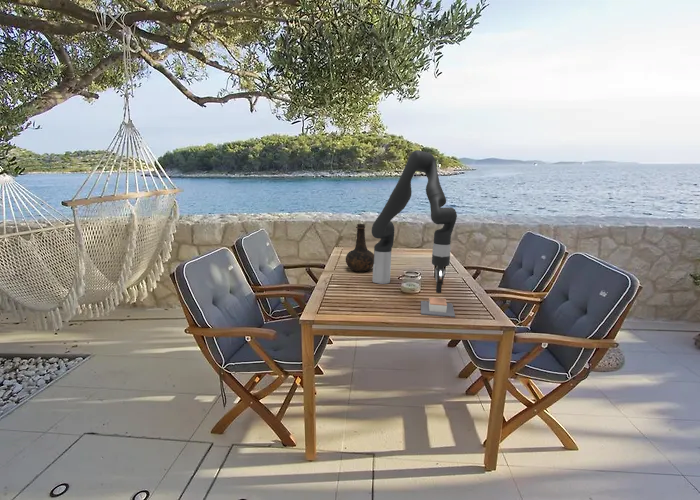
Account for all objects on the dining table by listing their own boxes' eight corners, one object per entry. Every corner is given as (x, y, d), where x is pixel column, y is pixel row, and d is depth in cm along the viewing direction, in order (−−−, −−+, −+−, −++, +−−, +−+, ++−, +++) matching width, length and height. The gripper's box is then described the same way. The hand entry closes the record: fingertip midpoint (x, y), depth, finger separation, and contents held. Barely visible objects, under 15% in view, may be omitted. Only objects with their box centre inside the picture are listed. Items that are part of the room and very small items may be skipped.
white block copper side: (428, 304, 174) (429, 311, 166) (429, 297, 173) (430, 303, 165) (444, 306, 173) (446, 312, 165) (445, 298, 172) (446, 304, 164)
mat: (420, 314, 164) (420, 313, 163) (420, 302, 179) (420, 300, 179) (455, 317, 161) (455, 315, 161) (452, 304, 177) (452, 303, 177)
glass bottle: (376, 267, 241) (378, 222, 236) (373, 274, 224) (375, 226, 219) (348, 265, 244) (349, 221, 239) (342, 272, 227) (343, 225, 221)
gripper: (431, 250, 174) (429, 287, 177) (432, 256, 161) (430, 296, 165) (449, 251, 173) (446, 288, 176) (451, 257, 160) (448, 297, 163)
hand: (438, 292), depth 170 cm, fingers closed
